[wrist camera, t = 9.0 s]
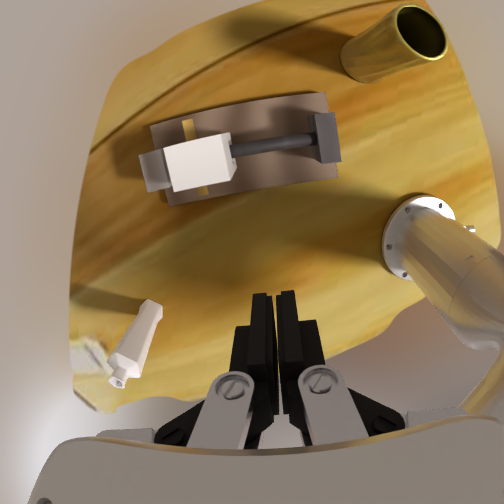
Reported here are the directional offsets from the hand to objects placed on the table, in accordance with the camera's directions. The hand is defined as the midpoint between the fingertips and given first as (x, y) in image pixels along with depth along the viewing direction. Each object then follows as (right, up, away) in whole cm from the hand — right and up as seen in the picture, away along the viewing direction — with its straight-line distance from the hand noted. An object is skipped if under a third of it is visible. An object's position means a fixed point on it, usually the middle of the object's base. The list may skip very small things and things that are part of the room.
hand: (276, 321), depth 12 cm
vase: (+12, +26, +15) cm, 32 cm away
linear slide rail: (-2, +15, +20) cm, 25 cm away
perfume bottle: (-16, -6, +30) cm, 35 cm away
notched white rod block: (-5, +13, +18) cm, 23 cm away
